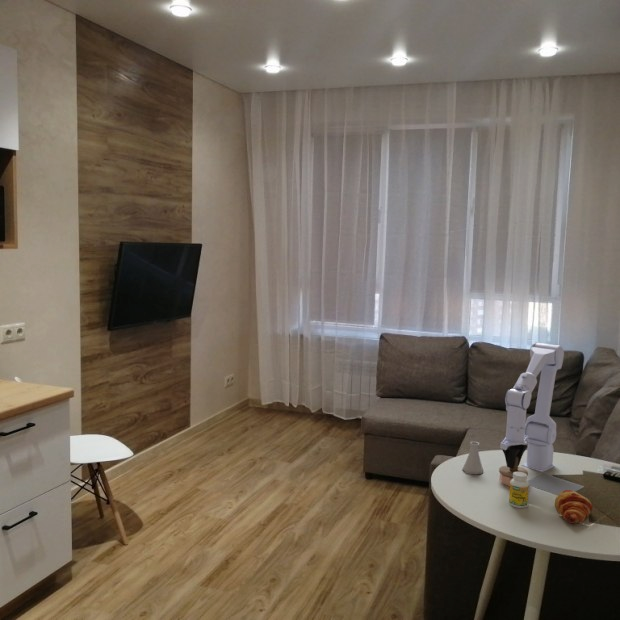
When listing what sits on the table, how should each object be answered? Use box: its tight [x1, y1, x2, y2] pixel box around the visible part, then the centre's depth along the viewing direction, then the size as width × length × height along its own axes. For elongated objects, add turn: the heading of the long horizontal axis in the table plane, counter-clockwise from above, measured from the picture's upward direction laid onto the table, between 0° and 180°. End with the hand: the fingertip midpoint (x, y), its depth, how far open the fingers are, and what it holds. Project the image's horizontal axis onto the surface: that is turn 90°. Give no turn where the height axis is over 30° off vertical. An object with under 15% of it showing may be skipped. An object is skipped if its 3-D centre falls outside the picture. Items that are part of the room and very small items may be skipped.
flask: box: [462, 441, 484, 475], centre depth 209 cm, size 7×7×10 cm
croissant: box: [554, 490, 594, 524], centre depth 179 cm, size 21×10×8 cm, turn 159°
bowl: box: [499, 472, 513, 487], centre depth 200 cm, size 7×7×3 cm
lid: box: [498, 457, 529, 477], centre depth 199 cm, size 9×9×5 cm
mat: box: [527, 473, 585, 496], centre depth 199 cm, size 14×14×1 cm
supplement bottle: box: [508, 472, 530, 509], centre depth 183 cm, size 5×5×10 cm
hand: (512, 466), depth 200 cm, fingers closed on lid, 3 cm apart
